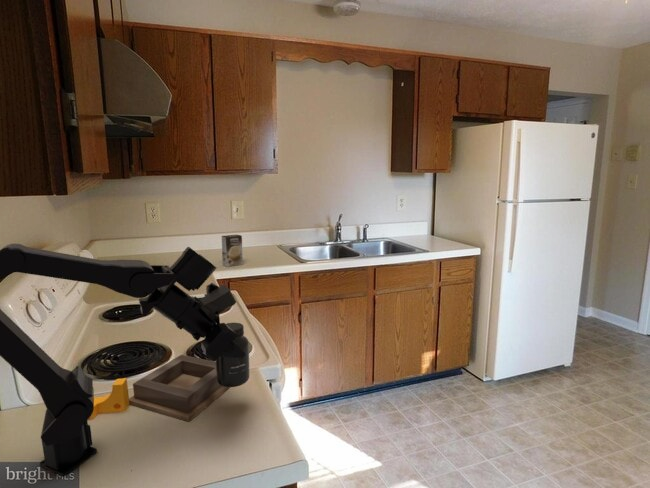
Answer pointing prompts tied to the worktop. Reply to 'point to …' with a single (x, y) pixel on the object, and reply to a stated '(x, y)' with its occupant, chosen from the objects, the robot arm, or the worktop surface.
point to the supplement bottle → (234, 361)
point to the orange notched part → (113, 399)
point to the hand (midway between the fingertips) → (238, 349)
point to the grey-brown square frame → (179, 388)
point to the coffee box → (232, 250)
